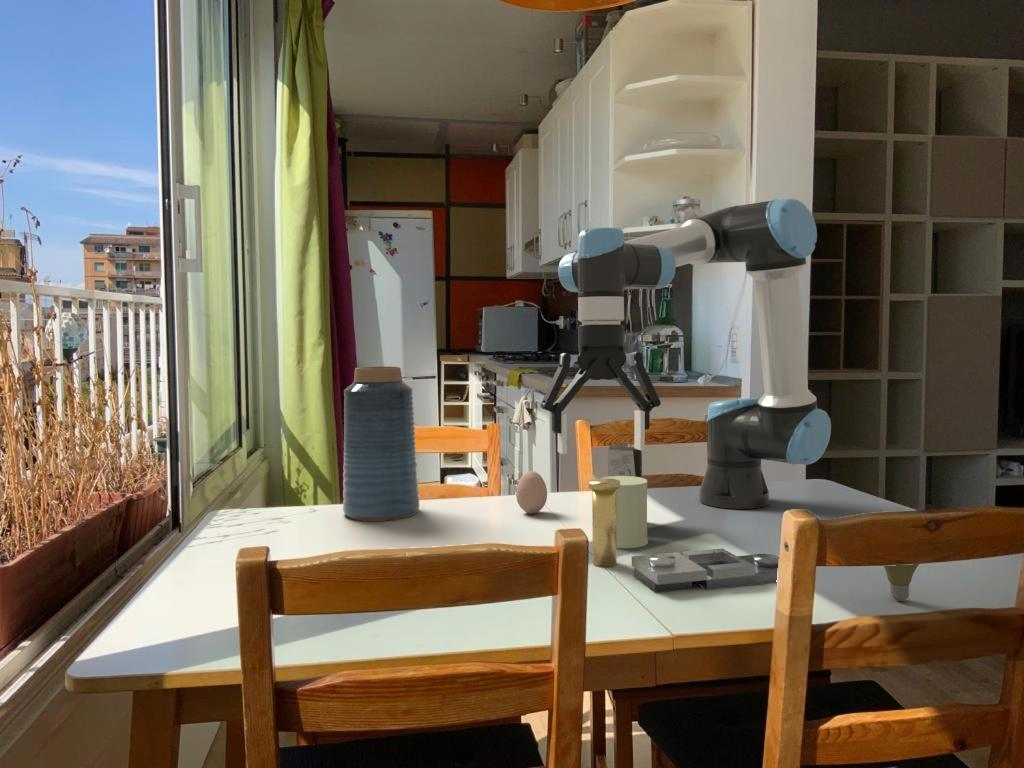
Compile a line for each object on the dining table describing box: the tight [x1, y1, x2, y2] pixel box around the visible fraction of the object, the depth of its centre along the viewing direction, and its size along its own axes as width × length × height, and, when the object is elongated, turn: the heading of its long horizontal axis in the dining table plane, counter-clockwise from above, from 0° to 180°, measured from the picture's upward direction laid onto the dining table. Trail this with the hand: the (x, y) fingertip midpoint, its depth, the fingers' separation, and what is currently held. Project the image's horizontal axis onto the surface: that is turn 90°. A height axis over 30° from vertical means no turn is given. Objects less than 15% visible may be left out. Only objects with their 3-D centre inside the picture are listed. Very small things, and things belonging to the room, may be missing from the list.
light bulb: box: [883, 563, 920, 602], centre depth 117 cm, size 6×6×10 cm
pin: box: [588, 477, 620, 568], centre depth 136 cm, size 5×5×14 cm
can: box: [602, 476, 649, 550], centre depth 150 cm, size 9×9×12 cm
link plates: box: [631, 548, 780, 593], centre depth 128 cm, size 24×10×4 cm, turn 104°
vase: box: [342, 365, 420, 522], centre depth 175 cm, size 16×16×32 cm
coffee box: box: [607, 442, 643, 478], centre depth 162 cm, size 9×6×16 cm
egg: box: [515, 470, 548, 515], centre depth 174 cm, size 7×7×9 cm
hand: (601, 451), depth 136 cm, fingers open, 13 cm apart
